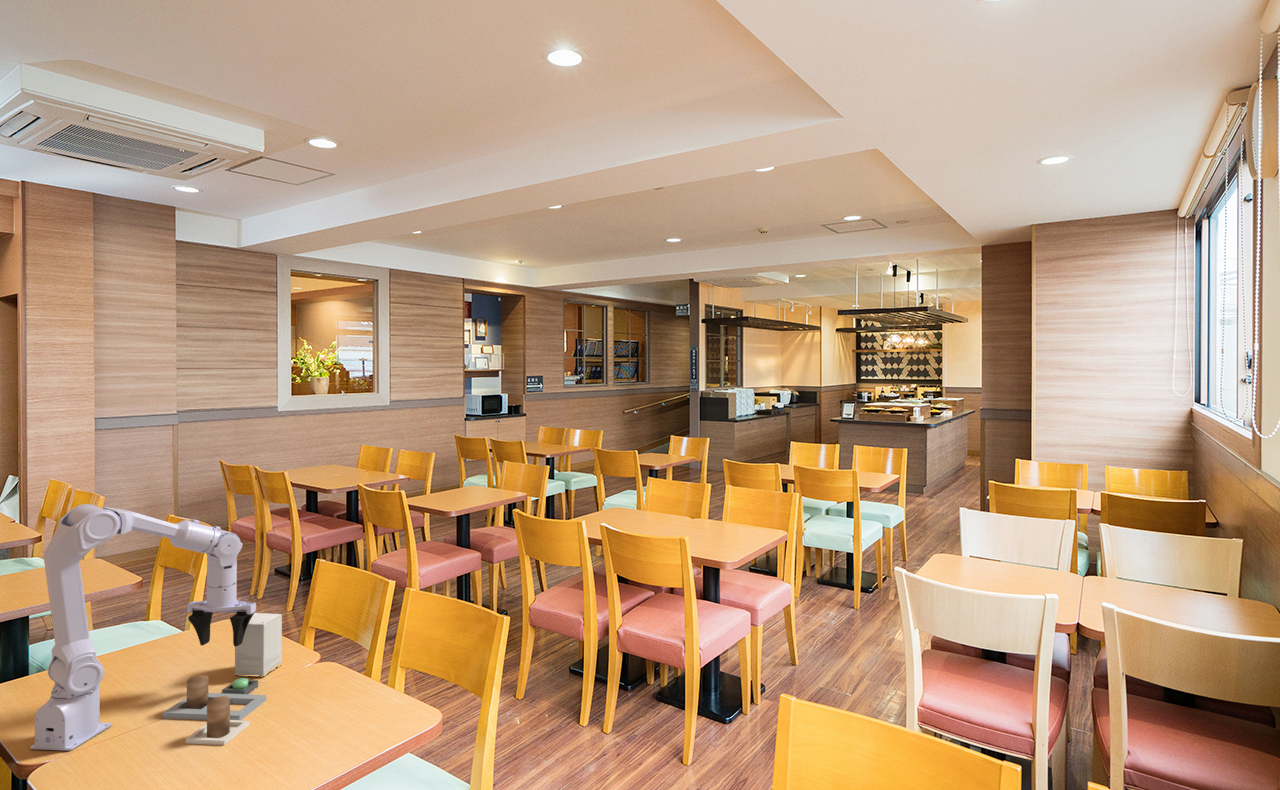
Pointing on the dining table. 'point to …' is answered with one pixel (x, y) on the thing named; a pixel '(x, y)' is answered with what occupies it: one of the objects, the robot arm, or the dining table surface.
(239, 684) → the button
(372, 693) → the dining table surface
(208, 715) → the cylinder
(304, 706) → the dining table surface
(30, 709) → the dining table surface
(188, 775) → the dining table surface
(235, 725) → the white square tray
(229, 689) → the switch box
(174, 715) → the grey frame
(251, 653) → the supplement box
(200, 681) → the cylinder
